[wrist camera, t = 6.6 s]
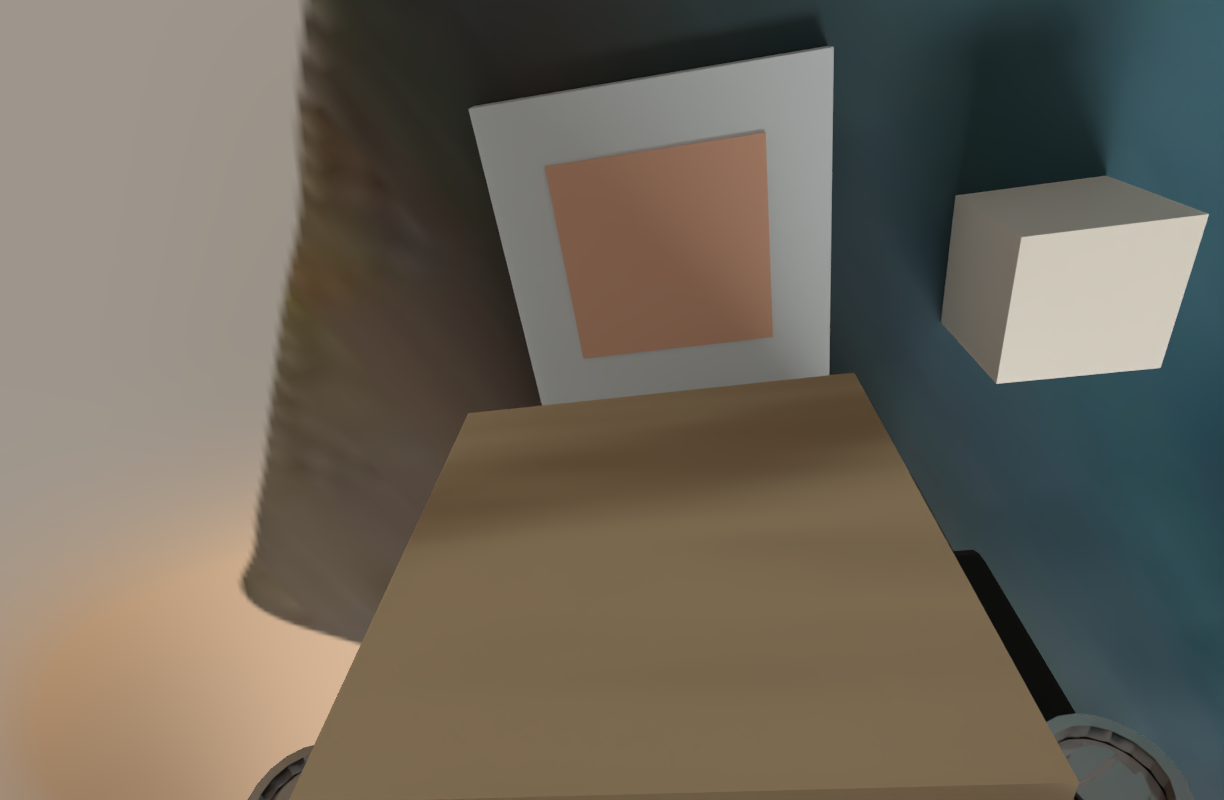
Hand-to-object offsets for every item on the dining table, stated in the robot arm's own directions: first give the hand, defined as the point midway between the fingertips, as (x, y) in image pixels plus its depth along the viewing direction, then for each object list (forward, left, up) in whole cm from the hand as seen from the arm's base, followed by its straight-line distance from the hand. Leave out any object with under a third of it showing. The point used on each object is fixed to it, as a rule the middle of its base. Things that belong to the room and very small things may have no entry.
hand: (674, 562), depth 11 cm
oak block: (0, 0, -1) cm, 1 cm away
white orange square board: (0, 0, -16) cm, 16 cm away
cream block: (+2, +13, -17) cm, 21 cm away
